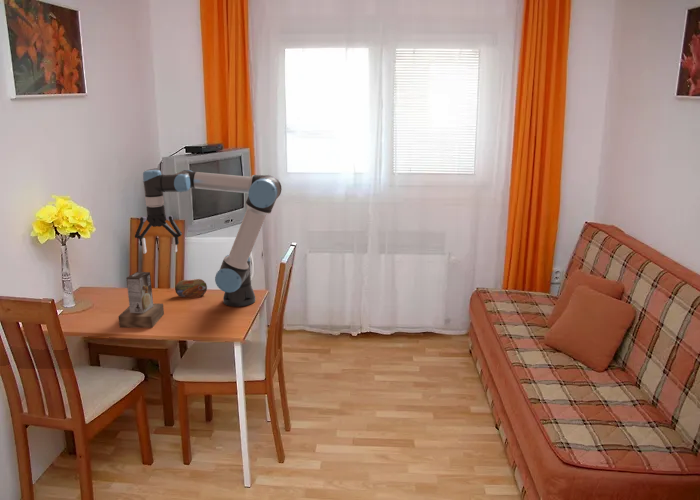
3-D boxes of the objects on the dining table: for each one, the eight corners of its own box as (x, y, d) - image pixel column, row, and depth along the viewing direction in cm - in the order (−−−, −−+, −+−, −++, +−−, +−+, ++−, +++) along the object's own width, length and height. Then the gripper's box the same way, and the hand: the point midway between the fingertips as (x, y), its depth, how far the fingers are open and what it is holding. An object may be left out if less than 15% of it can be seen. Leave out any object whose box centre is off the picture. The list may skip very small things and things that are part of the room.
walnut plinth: (164, 313, 266) (163, 303, 265) (152, 327, 251) (151, 316, 250) (133, 313, 266) (132, 303, 265) (119, 327, 251) (118, 316, 250)
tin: (175, 297, 288) (174, 281, 286) (176, 295, 291) (175, 279, 289) (207, 296, 291) (206, 279, 288) (207, 293, 294) (206, 277, 291)
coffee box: (140, 305, 262) (137, 271, 258) (153, 306, 261) (150, 271, 257) (129, 313, 254) (125, 277, 250) (143, 314, 253) (139, 278, 248)
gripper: (185, 203, 263) (190, 249, 269) (129, 204, 262) (134, 251, 268) (182, 206, 256) (186, 253, 261) (123, 208, 255) (129, 255, 260)
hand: (160, 252), depth 264 cm, fingers open, 13 cm apart
